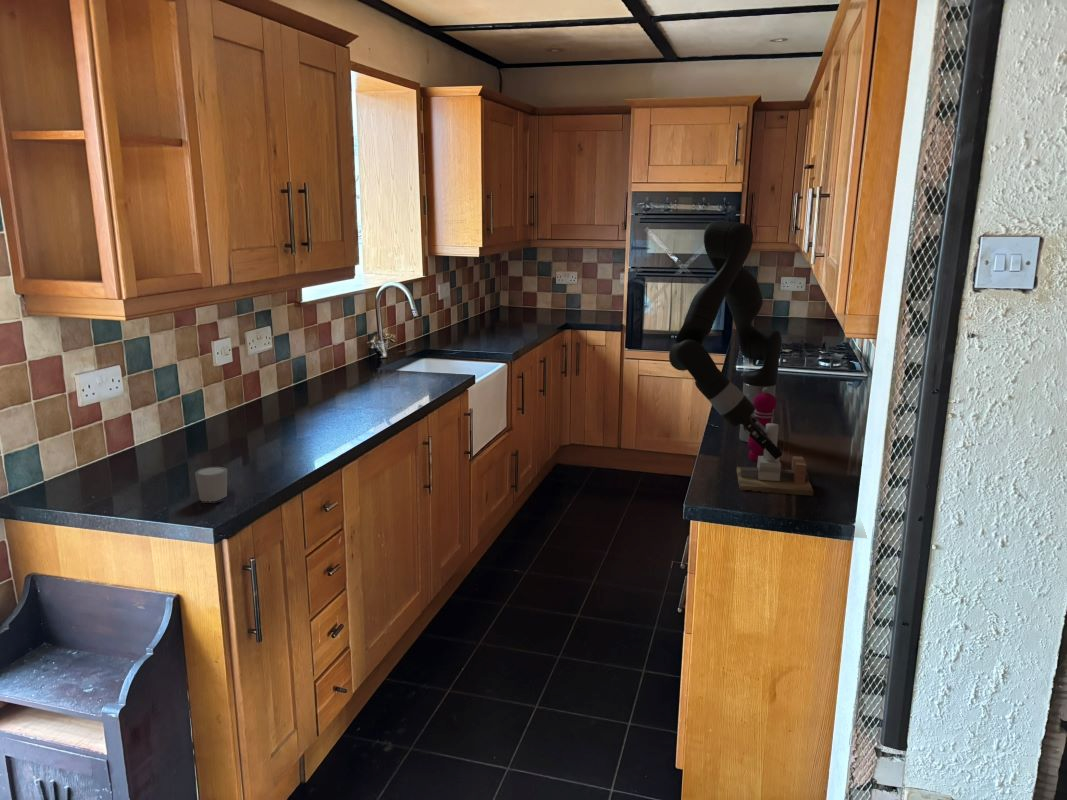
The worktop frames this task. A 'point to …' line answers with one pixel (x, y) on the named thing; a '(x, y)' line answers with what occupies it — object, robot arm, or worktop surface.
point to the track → (788, 484)
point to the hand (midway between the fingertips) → (778, 454)
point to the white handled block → (769, 457)
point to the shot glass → (211, 483)
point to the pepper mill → (761, 419)
